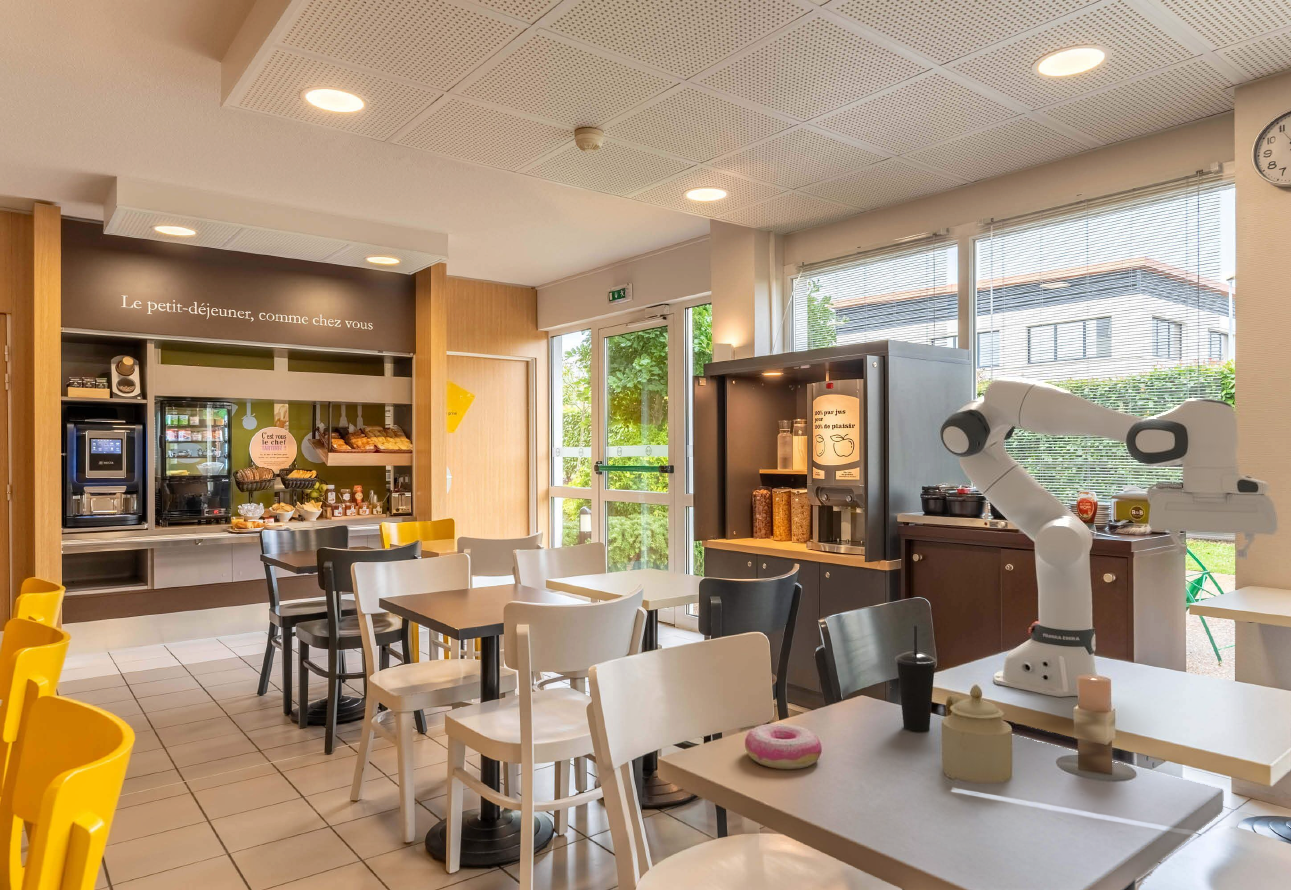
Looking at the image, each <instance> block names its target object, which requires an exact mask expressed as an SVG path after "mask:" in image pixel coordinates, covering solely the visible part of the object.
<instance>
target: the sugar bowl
mask: <svg viewBox="0 0 1291 890" xmlns="http://www.w3.org/2000/svg"><path fill="white" fill-rule="evenodd" d="M969 695H970V696H971V698H967V699H963V698H962V696H960V695H958V694H951V695H949V696H947V698H946V699H945V700H946V701H945V717H943V718H942V720H941V769H942V772H943V773H944V775H945V776H947V777H948V778H950V779H952V780H955V779H958V780H963V781H967V782H972V783H978V784H979V783H980V784H999V783H1003V782H1007V781H1009V780H1011V778H1012V777H1013V728H1012V727H1013V726H1011V724H1009V723H1008V722H1006V721H1005V720H1003V718H1002V716H1004V712H1003V710H1002V709H1000V708H998V707H997V706H996V705H995V704H993V703H992V702H989V701H987V700H982V699H981V698H982V696H983V691H982V689H981V687H980V686H979V685H978V684H974V685H973V686H972V687H971V689H970V691H969Z"/></svg>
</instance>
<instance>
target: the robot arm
mask: <svg viewBox="0 0 1291 890" xmlns="http://www.w3.org/2000/svg"><path fill="white" fill-rule="evenodd" d="M1016 428H1018V429H1022V430H1024V431H1027V432H1031V433H1034V434H1035V433H1036V434H1041V435H1046V436H1047V435H1048V436H1056V437H1057V436H1058V437H1059V436H1060V437H1061V436H1062V437H1064V436H1067V437H1070V436H1073V437H1074V436H1080V437H1081V436H1083V437H1084V436H1087V437H1088V436H1089V437H1099V438H1103V439H1108V440H1111V441H1115V442H1119V443H1123V444H1125V445H1126V450H1127V452H1128V453H1129V455H1130V456H1131V457H1132V458H1133V459H1134V460H1136V461H1137V462H1139V463H1141V464H1145V465H1149V466H1153V467H1154V466H1158V467H1159V466H1161V467H1162V466H1163V467H1165V466H1169V467H1174V468H1175V467H1177V468H1182V482H1168V483H1166V482H1165V483H1164V482H1156V483H1155V484H1152V485H1151V486H1149V488H1148V489H1147V492H1146V498H1147V499H1146V500H1147V502H1148V504H1149V505H1150V506H1149V512H1148V526H1149V527H1150V528H1151V529H1152V530H1153V531H1165V532H1167V531H1169V537H1170V538H1171V540H1172V541H1173V543H1174V544H1175V546H1176V553H1177V556H1187V555H1188V545H1185V544H1183V543H1182V542H1181V541H1180V539H1179V538H1178V537H1180V536H1181V532H1192V533H1193V532H1195V533H1197V532H1198V533H1215V534H1216V533H1217V534H1221V533H1222V534H1243V535H1244V540H1245V541H1246V544H1245V545H1244V546H1243V547H1238V548H1237V549H1236V552H1237V559H1244V560H1245V559H1246V560H1247V559H1248V558H1249V555H1248V554H1249V553H1248V552H1249V551H1248V549H1249V548H1250V547H1251V545H1253V543H1254V541H1255V538H1256V537H1255V536H1256V535H1263V536H1265V535H1266V536H1269V535H1270V536H1273V535H1275V534H1276V533H1277V532H1279V521H1278V520H1279V519H1278V512H1277V507H1276V505H1275V501H1274V500H1273V497H1271V496H1269V495H1268V494H1267V493H1268V492H1269V489H1270V485H1269V484H1268V482H1267V481H1264V480H1260V479H1256V478H1253V477H1251V476H1247V475H1246V476H1245V475H1241V474H1240V465H1239V463H1238V459H1237V451H1238V447H1239V428H1238V420H1237V414H1236V411H1235V408H1234V407H1233V406H1232V405H1231V404H1230V403H1228V402H1227V401H1224V400H1218V399H1212V398H1211V399H1210V398H1203V397H1191V398H1187V399H1185V400H1184V401H1183V402H1182V403H1180V404H1179V405H1177V406H1175V407H1173V408H1172V409H1170V410H1167V411H1165V412H1161V413H1159V414H1156V415H1154V416H1153V415H1152V416H1150V417H1144V416H1141V415H1135V414H1132V413H1127V412H1124V411H1120V410H1116V409H1112V408H1108V407H1106V406H1103V405H1100V404H1098V403H1096V402H1093V401H1091V400H1090V399H1086V398H1085V397H1082V396H1079V395H1078V394H1075V393H1073V392H1071V391H1068V390H1067V389H1064V388H1061V387H1058V386H1056V385H1053V384H1050V383H1047V382H1043V381H1038V380H1034V379H1028V378H1022V377H1013V376H1012V377H1010V376H1008V377H1007V376H1000V377H998V378H995V379H994V380H992V381H991V382H990V383H989V384H988V385H987V387H986V389H985V391H984V393H983V394H982V395H981V396H979V397H977V398H974V399H972V400H971V401H969V402H967V403H966V404H964V406H963V407H961V408H960V409H959V410H957V411H956V412H954V413H953V414H951V415H949V416H948V418H947V419H945V421H944V422H943V424H942V425H941V427H940V432H939V433H940V434H939V435H940V441H941V443H942V445H943V446H944V448H945V449H946V450H947V451H948V452H949V453H951V454H952V455H954V456H956V457H959V461H958V462H959V465H960V468H961V469H962V471H963V472H964V474H965V476H966V477H967V478H968V479H969V481H970V482H971V483H972V485H973V486H974V487H975V489H977V490H978V492H979V493H980V494H981V495H982V496H983V497H984V498H985V499H987V501H988V502H989V503H990V504H991V505H992V506H993V507H994V508H995V509H996V510H997V511H998V512H999V513H1000V514H1001V515H1002V516H1003V518H1004V517H1005V518H1004V519H1006V520H1007V521H1008V522H1009V523H1011V524H1012V525H1013V526H1015V527H1016V528H1017V529H1019V530H1020V531H1021V532H1022V533H1023V534H1025V536H1027V537H1028V538H1029V539H1030V540H1031V541H1032V542H1034V557H1035V558H1034V560H1035V571H1036V582H1037V583H1036V584H1037V591H1038V592H1037V593H1038V594H1037V595H1038V596H1037V598H1038V605H1037V606H1038V621H1034V622H1033V623H1032V624H1031V625H1030V626H1029V628H1028V634H1029V637H1030V639H1028V640H1026V641H1025V642H1023V643H1021V644H1020V645H1018V646H1017V647H1015V648H1014V649H1012V650H1011V651H1009V652H1008V653H1007V655H1006V657H1005V659H1004V662H1003V663H1004V664H1003V669H1002V670H998V671H997V672H996V673H994V675H993V676H992V677H993V678H992V681H993V683H994V684H996V685H1001V686H1005V687H1011V688H1015V689H1021V690H1023V691H1029V692H1034V693H1039V694H1043V695H1048V696H1053V697H1057V698H1058V697H1069V696H1070V697H1072V696H1076V697H1078V682H1077V676H1079V675H1098V674H1097V667H1096V661H1095V652H1096V634H1095V628H1094V627H1093V596H1092V595H1093V592H1092V579H1091V561H1090V558H1091V557H1090V551H1091V549H1092V546H1093V536H1092V532H1091V530H1090V528H1089V527H1088V526H1087V525H1086V524H1085V523H1084V522H1083V521H1082V520H1081V519H1080V518H1079V517H1078V516H1077V515H1076V514H1074V513H1073V511H1071V510H1070V509H1069V508H1068V507H1067V506H1066V505H1064V504H1063V503H1062V502H1061V501H1060V500H1059V499H1058V498H1057V497H1055V496H1054V495H1053V494H1052V493H1051V492H1049V491H1048V490H1047V489H1046V488H1045V487H1044V486H1043V485H1042V484H1041V483H1039V482H1038V480H1037V479H1036V478H1035V477H1033V475H1031V474H1030V473H1029V471H1027V470H1026V469H1025V468H1024V467H1023V466H1022V465H1021V464H1020V463H1019V462H1018V461H1017V460H1015V459H1014V457H1012V456H1011V455H1010V454H1009V452H1008V451H1007V449H1006V448H1005V445H1004V444H1005V443H1004V441H1008V440H1010V439H1011V438H1012V436H1013V433H1014V432H1015V429H1016Z"/></svg>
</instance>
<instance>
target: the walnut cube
mask: <svg viewBox="0 0 1291 890" xmlns="http://www.w3.org/2000/svg"><path fill="white" fill-rule="evenodd" d="M1077 755H1078V770H1084V771H1090V772H1096V773H1103V774H1109V775H1112V760H1113V740H1112V741H1111V742H1109V743H1108V744H1107V745H1105V744H1101V743H1096V742H1091V741H1087V740H1082V739H1077Z"/></svg>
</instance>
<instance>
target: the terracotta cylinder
mask: <svg viewBox="0 0 1291 890" xmlns="http://www.w3.org/2000/svg"><path fill="white" fill-rule="evenodd" d="M1077 682H1078V696H1077V706H1078V707H1079V708H1081V709H1083V710H1086V711H1091V712H1110V711H1111V707H1112V679H1111V678H1109V677H1106V676H1102V675H1098V674H1097V675H1079V676H1077Z"/></svg>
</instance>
